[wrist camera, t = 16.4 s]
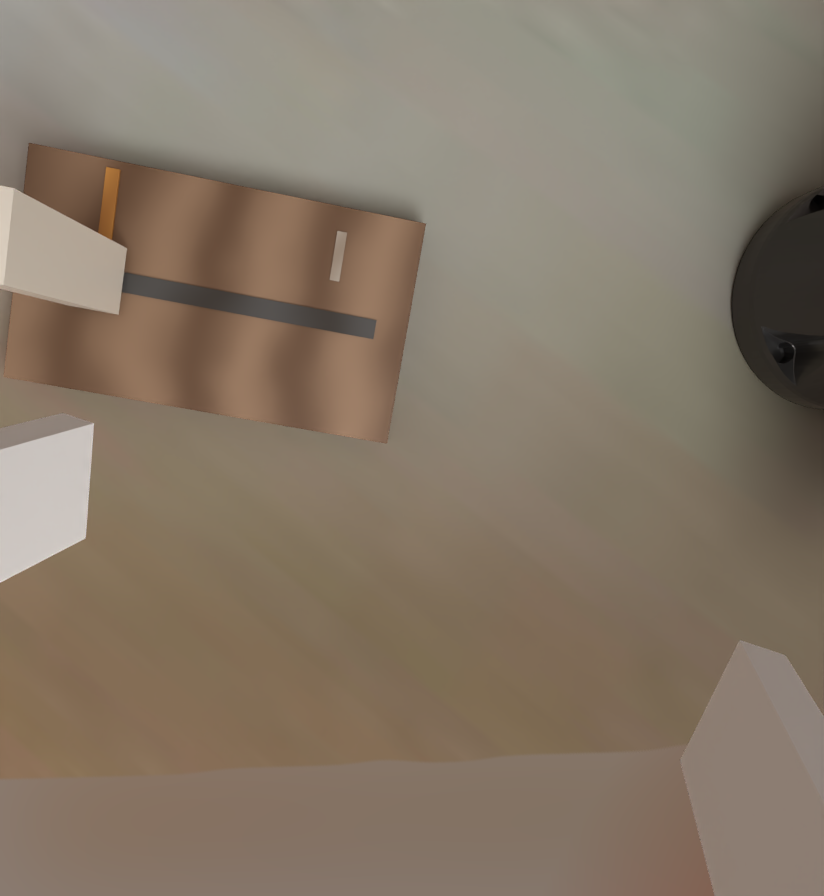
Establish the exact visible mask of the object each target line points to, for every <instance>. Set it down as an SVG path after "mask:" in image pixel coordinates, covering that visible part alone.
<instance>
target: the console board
mask: <svg viewBox="0 0 824 896" xmlns="http://www.w3.org/2000/svg"><path fill="white" fill-rule="evenodd" d="M24 194H26V195H28V196H29V197H31V198H33V199H35V200H37V201H39V202H41V203H43V204H45V205H46V206H48V207H50V208H52V209H54V210H56V211H58V212H60V213H61V214H63V215H65V216H67V217H69V218H71V219H73V220H75V221H77V222H78V223H80V224H82V225H84V226H86V227H88V228H90V229H92V230H93V231H95V232H97V233H99V234H101V235H103V236H105V237H107V238H108V239H110V240H112V241H114V242H116V243H118V244H120V245H122V246H124V247H125V248H127V253H126V261H125V268H124V276H123V284H122V292H121V300H120V308H119V315H117V314H112V313H106V312H101V311H95V310H90V309H84V308H79V307H74V306H68V305H64V304H60V303H56V302H52V301H48V300H44V299H40V298H36V297H32V296H28V295H23V294H19V293H15V292H13V294H12V304H11V313H10V322H9V331H8V341H7V350H6V359H5V368H4V377H7V378H13V379H19V380H24V381H30V382H36V383H42V384H47V385H53V386H59V387H65V388H70V389H76V390H82V391H88V392H93V393H99V394H105V395H111V396H116V397H122V398H128V399H134V400H139V401H145V402H151V403H157V404H162V405H168V406H174V407H180V408H185V409H191V410H197V411H203V412H208V413H214V414H220V415H226V416H231V417H237V418H243V419H249V420H254V421H260V422H266V423H272V424H277V425H283V426H289V427H295V428H301V429H306V430H312V431H318V432H324V433H329V434H335V435H341V436H347V437H352V438H358V439H364V440H370V441H375V442H381V443H387V440H388V435H389V429H390V423H391V418H392V412H393V406H394V401H395V395H396V389H397V384H398V378H399V372H400V367H401V361H402V356H403V350H404V344H405V339H406V333H407V327H408V322H409V316H410V310H411V305H412V299H413V293H414V288H415V282H416V277H417V271H418V265H419V260H420V254H421V248H422V243H423V237H424V231H425V226H426V224H425V223H420V222H415V221H410V220H405V219H400V218H395V217H390V216H385V215H381V214H376V213H371V212H366V211H361V210H356V209H351V208H346V207H341V206H336V205H331V204H327V203H322V202H317V201H312V200H307V199H302V198H297V197H292V196H287V195H282V194H277V193H273V192H268V191H263V190H258V189H253V188H248V187H243V186H238V185H233V184H228V183H223V182H219V181H214V180H209V179H204V178H199V177H194V176H189V175H184V174H179V173H174V172H169V171H165V170H160V169H155V168H150V167H145V166H140V165H135V164H130V163H125V162H120V161H115V160H111V159H106V158H101V157H96V156H91V155H86V154H81V153H76V152H71V151H66V150H61V149H57V148H52V147H47V146H42V145H37V144H32V143H29V147H28V156H27V165H26V174H25V184H24Z"/></svg>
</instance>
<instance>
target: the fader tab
mask: <svg viewBox="0 0 824 896" xmlns="http://www.w3.org/2000/svg"><path fill="white" fill-rule="evenodd" d="M126 253H127V248H125V247H124V246H122V245H120V244H118V243H116V242H114V241H112V240H110V239H108V238H107V237H105V236H103V235H101V234H99V233H97V232H95V231H93V230H92V229H90V228H88V227H86V226H84V225H82V224H80V223H78V222H77V221H75V220H73V219H71V218H69V217H67V216H65V215H63V214H61V213H60V212H58V211H56V210H54V209H52V208H50V207H48V206H46V205H45V204H43V203H41V202H39V201H37V200H35V199H33V198H31V197H29V196H28V195H26V194H24V193H22V192H20V191H18V190H16V189H14V188H10V187H5V186H0V289H3V290H7V291H11V292H15V293H19V294H23V295H28V296H32V297H36V298H40V299H44V300H48V301H52V302H56V303H60V304H64V305H68V306H74V307H79V308H84V309H90V310H95V311H101V312H106V313H112V314H117V315H119V308H120V300H121V292H122V284H123V276H124V268H125V261H126Z"/></svg>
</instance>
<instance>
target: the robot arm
mask: <svg viewBox="0 0 824 896" xmlns="http://www.w3.org/2000/svg"><path fill="white" fill-rule="evenodd" d="M732 314H733V323H734V329H735V333H736V337H737V340H738V344H739V346H740V349H741V351H742V353H743V355H744V357H745V359H746V361H747V363H748V364H749V366H750V367H751V369H752V370H753V372H754V373H755V374H756V375H757V377H758V378H759V379H760V380H761V381H762V382H763V383H764V384H765V385H766V386H767V387H769V388H770V389H771V390H772V391H774V392H775V393H777V394H778V395H780V396H781V397H783V398H785V399H787V400H789V401H791V402H794V403H796V404H799V405H802V406H806V407H810V408H817V409H824V186H822V187H820V188H818V189H816V190H813V191H811V192H809V193H806V194H804V195H802V196H800V197H798V198H796V199H794V200H792V201H791V202H789V203H788V204H786V205H785V206H783V207H782V208H780V209H779V210H778V211H777V212H776V213H774V214H773V215H772V216H771V217H770V218H769V219H768V220H767V221H766V222H765V223H764V224H763V225H762V227H761V228H760V229H759V230H758V232H757V233H756V234H755V236H754V237H753V239H752V240H751V242H750V244H749V245H748V247H747V249H746V251H745V253H744V255H743V257H742V260H741V262H740V265H739V268H738V271H737V275H736V278H735V283H734V289H733V299H732ZM93 430H94V423H92V422H89V421H86V420H83V419H80V418H77V417H74V416H71V415H68V414H65V413H61V414H57V415H53V416H49V417H44V418H40V419H36V420H32V421H28V422H24V423H20V424H16V425H12V426H7V427H3V428H0V582H2V581H4V580H6V579H8V578H10V577H12V576H14V575H16V574H18V573H20V572H22V571H23V570H25V569H27V568H29V567H31V566H33V565H35V564H37V563H39V562H41V561H43V560H45V559H47V558H49V557H50V556H52V555H54V554H56V553H58V552H60V551H62V550H64V549H66V548H68V547H70V546H72V545H74V544H76V543H77V542H79V541H81V540H83V539H85V538H86V526H87V512H88V499H89V485H90V471H91V458H92V444H93ZM680 762H681V766H682V770H683V774H684V778H685V782H686V786H687V790H688V794H689V797H690V801H691V805H692V809H693V813H694V817H695V821H696V825H697V828H698V833H699V837H700V840H701V844H702V848H703V852H704V856H705V860H706V864H707V867H708V872H709V876H710V879H711V883H712V887H713V891H714V895H715V896H824V716H823V715H822V713H821V712H820V710H819V708H818V707H817V705H816V703H815V702H814V700H813V699H812V697H811V695H810V694H809V692H808V691H807V689H806V687H805V686H804V684H803V683H802V681H801V679H800V678H799V676H798V674H797V673H796V671H795V670H794V668H793V666H792V665H791V663H790V662H789V660H788V658H787V657H786V655H783V654H780V653H777V652H774V651H771V650H768V649H765V648H762V647H759V646H756V645H753V644H750V643H747V642H744V641H741V640H739V642H738V644H737V646H736V648H735V650H734V652H733V654H732V656H731V658H730V660H729V662H728V665H727V667H726V669H725V671H724V673H723V675H722V677H721V679H720V681H719V683H718V685H717V687H716V689H715V691H714V693H713V695H712V697H711V699H710V701H709V703H708V705H707V707H706V709H705V711H704V713H703V715H702V717H701V719H700V721H699V723H698V725H697V727H696V729H695V731H694V733H693V735H692V737H691V739H690V741H689V743H688V745H687V748H686V750H685V751H684V753H683V756H682V757H681V759H680Z"/></svg>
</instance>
